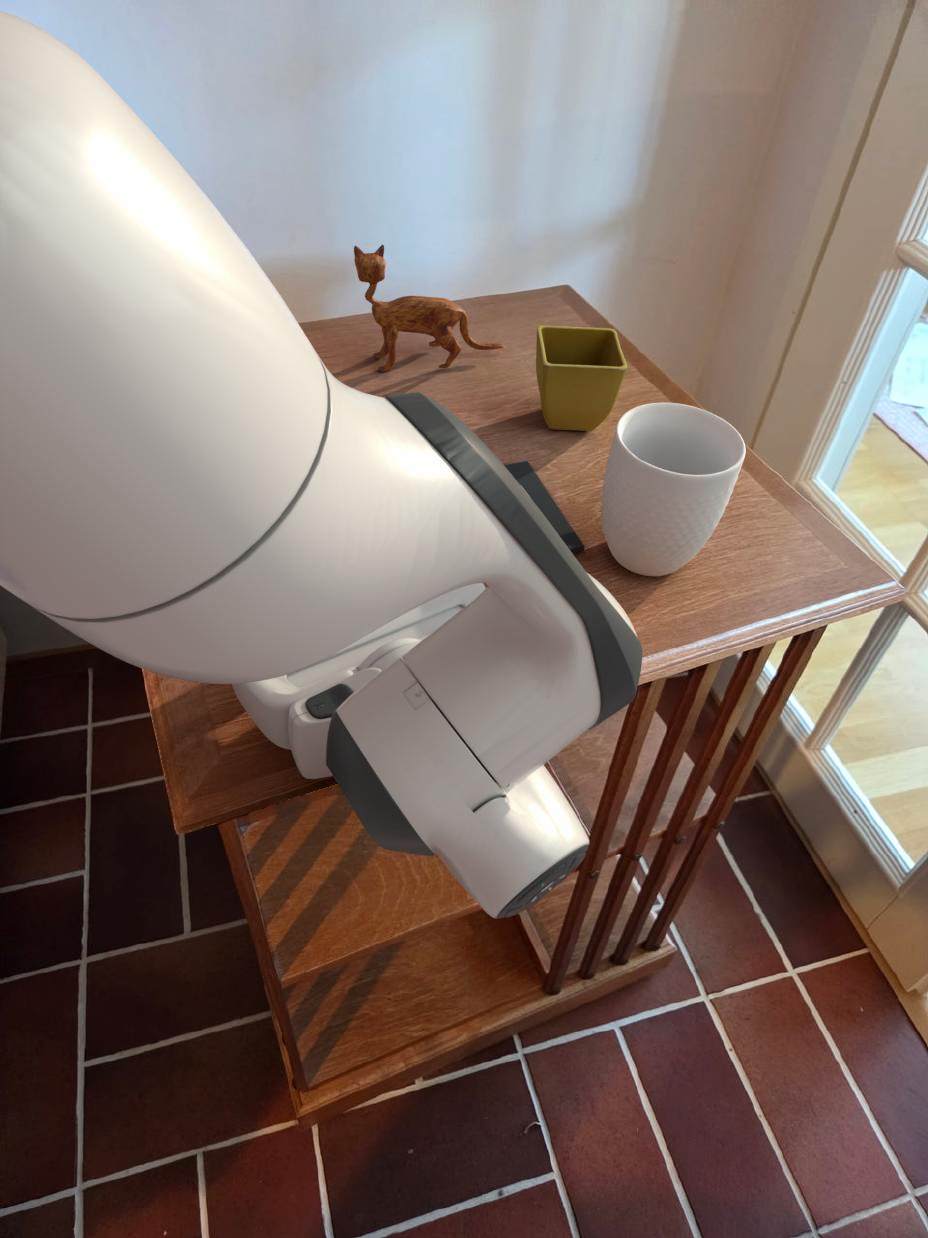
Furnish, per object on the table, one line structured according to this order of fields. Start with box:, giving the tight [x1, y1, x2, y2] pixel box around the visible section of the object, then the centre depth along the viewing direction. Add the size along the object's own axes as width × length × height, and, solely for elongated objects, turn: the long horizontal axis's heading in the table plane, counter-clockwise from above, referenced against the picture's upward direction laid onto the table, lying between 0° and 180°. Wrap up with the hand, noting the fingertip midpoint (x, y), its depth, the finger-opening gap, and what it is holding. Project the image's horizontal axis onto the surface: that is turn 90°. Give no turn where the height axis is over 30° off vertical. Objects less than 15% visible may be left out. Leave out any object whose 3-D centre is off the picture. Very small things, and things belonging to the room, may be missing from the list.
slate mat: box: [503, 460, 586, 554], centre depth 81 cm, size 16×14×1 cm
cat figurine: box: [353, 244, 505, 373], centre depth 96 cm, size 18×7×14 cm, turn 104°
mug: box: [600, 402, 747, 577], centre depth 75 cm, size 15×11×13 cm
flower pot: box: [535, 324, 628, 432], centre depth 91 cm, size 9×9×9 cm
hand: (325, 581), depth 66 cm, fingers closed on planter, 4 cm apart
